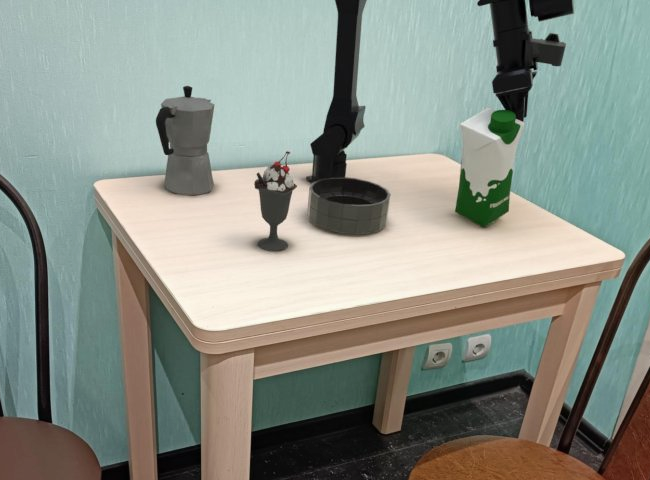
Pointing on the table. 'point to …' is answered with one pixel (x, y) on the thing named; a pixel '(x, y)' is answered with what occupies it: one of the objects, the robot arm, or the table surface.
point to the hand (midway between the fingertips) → (521, 123)
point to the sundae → (275, 201)
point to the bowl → (348, 205)
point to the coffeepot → (186, 143)
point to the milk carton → (487, 165)
